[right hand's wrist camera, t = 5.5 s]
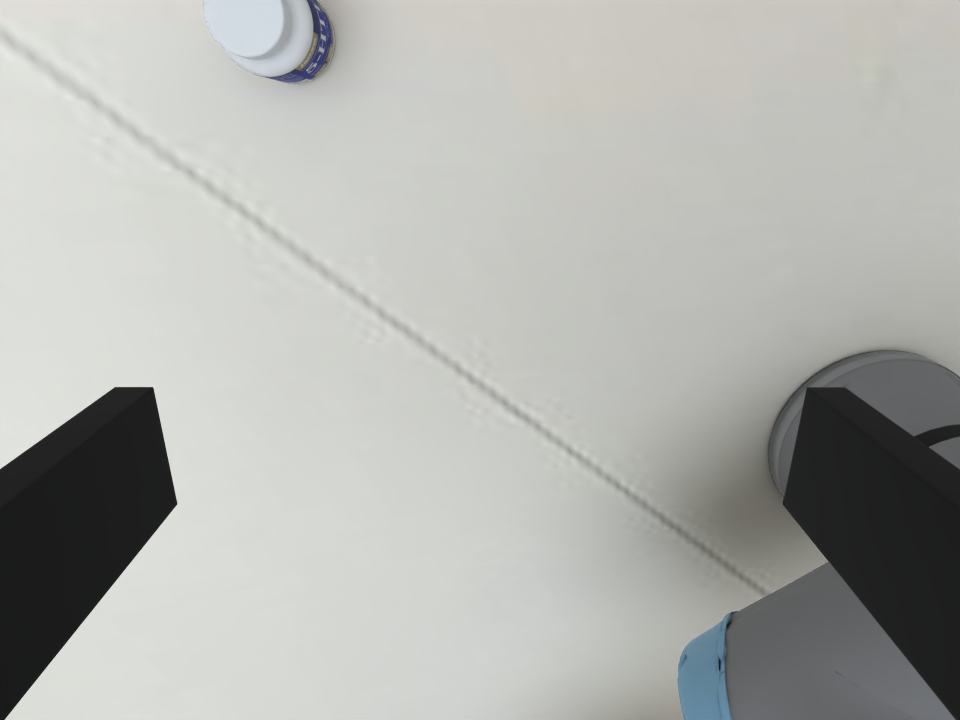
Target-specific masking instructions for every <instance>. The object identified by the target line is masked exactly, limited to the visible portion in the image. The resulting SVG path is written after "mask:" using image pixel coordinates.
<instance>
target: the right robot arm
mask: <svg viewBox="0 0 960 720" xmlns="http://www.w3.org/2000/svg"><path fill="white" fill-rule="evenodd" d="M769 467H770V471H771V475H772V478H773V481H774V483H775V485H776V487H777V489H778V490H779V492H780V493H781V494H782V496H783V497H784V500H783V505H784V506H785V508H786V509H787V510H788V511H789V513H790V514H791V515H792V516H793V518H794V519H795V520H796V521H797V523H798V524H799V525H800V526H801V528H802V529H803V530H804V531H805V533H806V534H807V535H808V536H809V538H810V539H811V540H812V541H813V543H814V544H815V545H816V546H817V548H818V549H819V550H820V551H821V552H822V554H823V555H824V556H825V557H826V559H827V560H828V561H829V562H828V563H826V564H824V565H822V566H820V567H819V568H817V569H815V570H813V571H812V572H810V573H808V574H806V575H804V576H803V577H801V578H799V579H797V580H795V581H794V582H792V583H790V584H788V585H787V586H785V587H783V588H781V589H779V590H777V591H776V592H774V593H772V594H770V595H768V596H766V597H764V598H762V599H761V600H759V601H757V602H755V603H753V604H751V605H749V606H748V607H746V608H744V609H742V610H740V611H735V612H731V613H729V614H727V615H726V616H725V617H724V619H723V620H722V622H720V623H719V624H717V625H716V626H714V627H713V628H711V629H710V630H708V631H707V632H705V633H703V634H702V635H700V636H699V637H697V638H695V639H694V640H692V641H691V642H690V643H689V644H688V645H687V646H686V647H685V649H684V650H683V652H682V654H681V657H680V662H679V666H678V689H679V696H680V702H681V707H682V712H683V715H684V719H685V720H960V377H959V376H957V375H956V374H955V373H953V372H952V371H950V370H949V369H947V368H945V367H943V366H941V365H939V364H937V363H935V362H933V361H931V360H929V359H927V358H925V357H922V356H919V355H917V354H913V353H908V352H901V351H876V352H870V353H864V354H860V355H856V356H853V357H850V358H847V359H844V360H842V361H840V362H837V363H835V364H833V365H831V366H830V367H828V368H826V369H824V370H823V371H821V372H819V373H818V374H816V375H815V376H814V377H812V378H811V379H810V380H809V381H807V382H806V383H805V384H804V385H803V386H802V387H801V388H800V389H799V390H798V391H797V392H796V393H795V394H794V395H793V396H792V397H791V399H790V400H789V401H788V402H787V404H786V405H785V407H784V408H783V410H782V411H781V413H780V415H779V417H778V419H777V421H776V423H775V426H774V428H773V431H772V434H771V439H770V443H769ZM176 505H177V500H176V495H175V490H174V486H173V481H172V476H171V471H170V466H169V461H168V457H167V452H166V447H165V442H164V437H163V432H162V428H161V423H160V418H159V413H158V408H157V403H156V398H155V394H154V389H153V387H115V388H113V389H112V390H111V391H109V392H108V393H106V394H105V395H104V396H102V397H101V398H99V399H98V400H97V401H95V402H94V403H92V404H91V405H90V406H88V407H87V408H85V409H84V410H83V411H81V412H80V413H78V414H77V415H76V416H74V417H73V418H71V419H70V420H69V421H67V422H66V423H64V424H63V425H62V426H60V427H59V428H57V429H56V430H55V431H53V432H52V433H50V434H49V435H48V436H46V437H45V438H43V439H42V440H41V441H39V442H38V443H36V444H35V445H34V446H32V447H31V448H29V449H28V450H27V451H25V452H24V453H22V454H21V455H20V456H18V457H17V458H15V459H14V460H13V461H11V462H10V463H8V464H7V465H6V466H4V467H3V468H1V469H0V720H5V718H6V717H7V716H8V715H9V713H10V712H11V711H12V710H13V708H14V707H15V706H16V705H17V703H18V702H19V701H20V700H21V698H22V697H23V696H24V695H25V693H26V692H27V691H28V690H29V688H30V687H31V686H32V685H33V683H34V682H35V681H36V680H37V678H38V677H39V676H40V675H41V673H42V672H43V671H44V670H45V668H46V667H47V666H48V665H49V663H50V662H51V661H52V660H53V658H54V657H55V656H56V655H57V654H58V652H59V651H60V650H61V649H62V647H63V646H64V645H65V644H66V642H67V641H68V640H69V639H70V637H71V636H72V635H73V634H74V632H75V631H76V630H77V629H78V627H79V626H80V625H81V624H82V622H83V621H84V620H85V619H86V617H87V616H88V615H89V614H90V612H91V611H92V610H93V609H94V607H95V606H96V605H97V604H98V602H99V601H100V600H101V599H102V597H103V596H104V595H105V594H106V592H107V591H108V590H109V589H110V587H111V586H112V585H113V584H114V582H115V581H116V580H117V579H118V577H119V576H120V575H121V574H122V572H123V571H124V570H125V569H126V567H127V566H128V565H129V564H130V562H131V561H132V560H133V559H134V557H135V556H136V555H137V554H138V552H139V551H140V550H141V549H142V548H143V546H144V545H145V544H146V543H147V541H148V540H149V539H150V538H151V536H152V535H153V534H154V533H155V531H156V530H157V529H158V528H159V526H160V525H161V524H162V523H163V521H164V520H165V519H166V518H167V516H168V515H169V514H170V513H171V511H172V510H173V509H174V508H175V506H176Z"/></svg>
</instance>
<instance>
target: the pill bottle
mask: <svg viewBox="0 0 960 720" xmlns="http://www.w3.org/2000/svg"><path fill="white" fill-rule="evenodd" d="M203 9H204V16H205V20H206V23H207V26H208V28H209V30H210V32H211V34H212V35H213V37H214V38H215V40H216V41H217V42H218V43H219V44H220V45H221V46H222V48H223V50H224V51H225V53H226V54H227V55H228V56H229V57H230V58H231V60H233V61H234V62H235V63H236V64H237V65H238V66H240V67H241V68H243V69H245V70H246V71H248V72H251V73H253V74H255V75H258V76H262V77H266V78H270V79H274V80H278V81H282V82H285V83H291V84H303V83H307V82H310V81H312V80H314V79H316V78H318V77H319V76H320V75H321V74H322V73H324V71H325V70H326V69H327V67H328V66H329V64H330V62H331V60H332V57H333V53H334V47H335V36H334V30H333V26H332V23H331V21H330V19H329V17H328V15H327V13H326V11H325V10H324V9H323V7H322V6H321V5H320V4H319V3H318V2H317V1H316V0H204V5H203Z"/></svg>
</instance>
